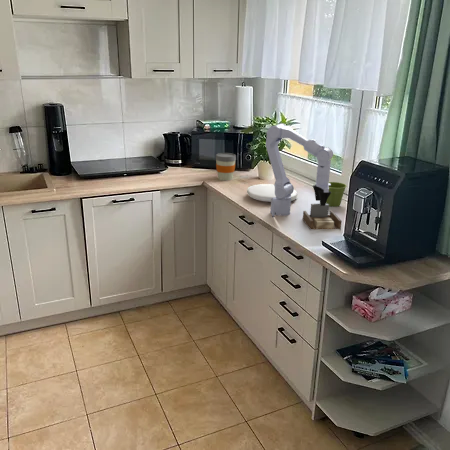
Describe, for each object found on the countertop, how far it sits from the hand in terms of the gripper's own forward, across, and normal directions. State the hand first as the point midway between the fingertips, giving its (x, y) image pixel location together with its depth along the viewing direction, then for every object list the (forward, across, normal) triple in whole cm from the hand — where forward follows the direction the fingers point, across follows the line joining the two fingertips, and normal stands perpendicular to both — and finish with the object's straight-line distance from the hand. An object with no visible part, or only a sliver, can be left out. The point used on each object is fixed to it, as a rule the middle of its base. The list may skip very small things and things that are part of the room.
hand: (320, 202), depth 218 cm
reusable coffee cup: (+10, +79, +37) cm, 88 cm away
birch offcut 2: (+9, -10, 0) cm, 13 cm away
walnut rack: (+10, -4, 0) cm, 11 cm away
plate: (+10, +39, +15) cm, 43 cm away
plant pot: (+10, +25, -15) cm, 31 cm away
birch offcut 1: (+9, -6, 0) cm, 11 cm away
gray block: (+9, 0, 0) cm, 9 cm away
